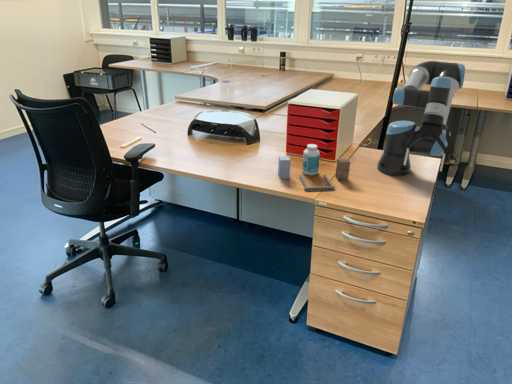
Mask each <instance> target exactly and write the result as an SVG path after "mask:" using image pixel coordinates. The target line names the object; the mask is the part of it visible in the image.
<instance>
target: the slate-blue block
mask: <svg viewBox="0 0 512 384" xmlns="http://www.w3.org/2000/svg"><path fill="white" fill-rule="evenodd" d="M291 160H292V159H291V157H290V156H289V155H287V156H286V155H284V156H283V155H281V156H278V165H277V166H278V167H277V176H278V178H279V179H281V178H287V179H290V177H291V176H290V175H291V162H292V161H291ZM281 180H282V179H281Z"/></svg>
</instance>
